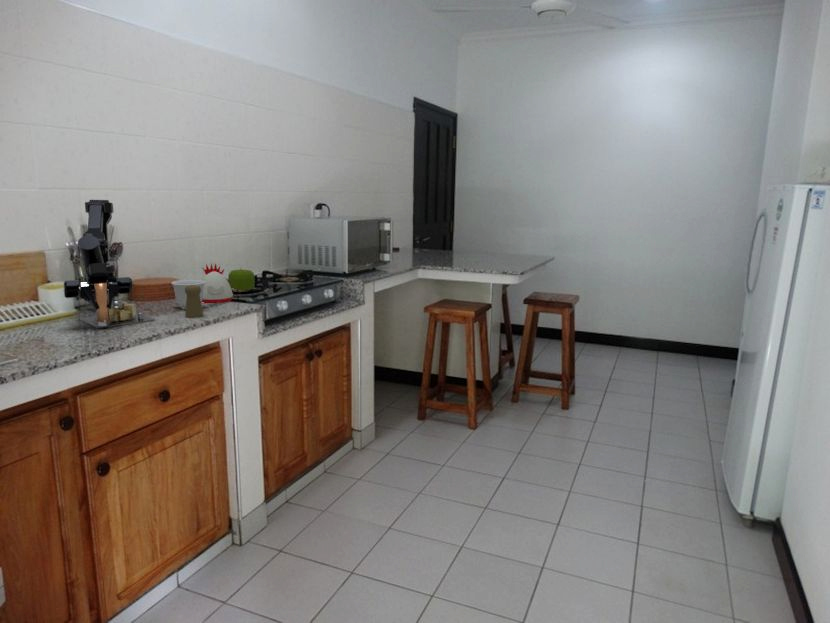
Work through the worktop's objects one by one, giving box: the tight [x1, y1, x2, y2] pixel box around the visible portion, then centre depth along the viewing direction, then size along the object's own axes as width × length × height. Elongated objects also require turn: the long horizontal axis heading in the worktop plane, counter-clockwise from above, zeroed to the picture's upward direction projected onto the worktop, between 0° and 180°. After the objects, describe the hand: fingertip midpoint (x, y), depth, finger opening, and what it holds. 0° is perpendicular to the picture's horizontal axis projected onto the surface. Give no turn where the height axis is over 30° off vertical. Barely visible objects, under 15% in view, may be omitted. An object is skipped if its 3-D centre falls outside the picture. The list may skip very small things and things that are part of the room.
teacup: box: [170, 279, 206, 310], centre depth 212 cm, size 12×15×10 cm
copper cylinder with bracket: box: [94, 282, 137, 326], centre depth 186 cm, size 20×11×14 cm, turn 11°
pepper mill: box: [184, 285, 204, 319], centre depth 200 cm, size 6×6×11 cm
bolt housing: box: [78, 299, 156, 329], centre depth 192 cm, size 18×18×6 cm
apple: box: [227, 267, 255, 290], centre depth 250 cm, size 11×11×11 cm
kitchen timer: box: [201, 263, 234, 304], centre depth 230 cm, size 14×14×15 cm
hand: (103, 308), depth 177 cm, fingers closed on copper cylinder with bracket, 3 cm apart
